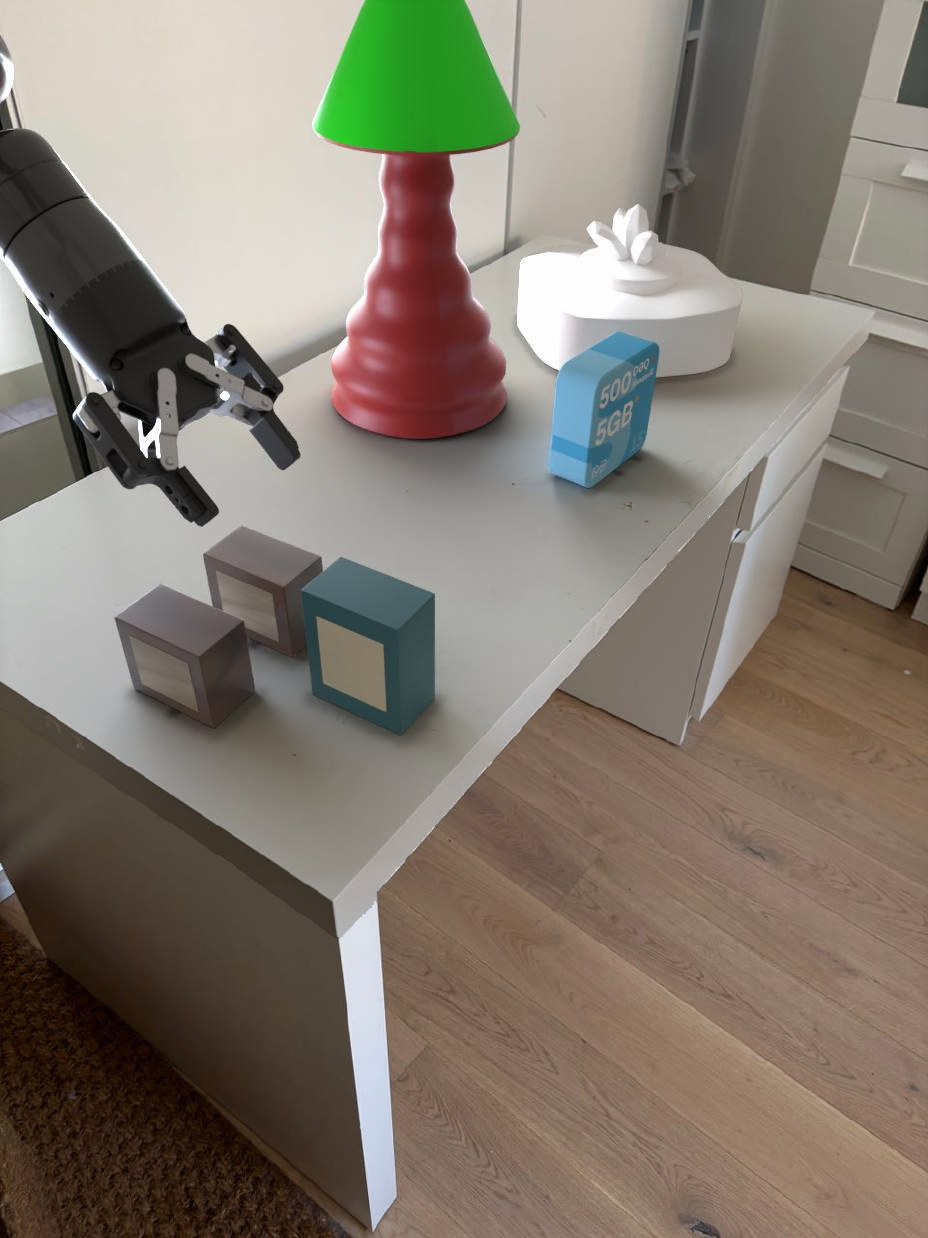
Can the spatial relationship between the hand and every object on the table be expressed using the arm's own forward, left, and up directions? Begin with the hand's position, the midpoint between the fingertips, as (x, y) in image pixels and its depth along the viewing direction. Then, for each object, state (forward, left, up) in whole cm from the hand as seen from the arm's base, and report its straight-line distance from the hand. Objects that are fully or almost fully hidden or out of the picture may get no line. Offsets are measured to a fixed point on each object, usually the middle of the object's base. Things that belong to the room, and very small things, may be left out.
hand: (253, 490), depth 67 cm
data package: (+28, +30, -15) cm, 44 cm away
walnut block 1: (-5, -5, -15) cm, 16 cm away
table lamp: (+9, +43, -15) cm, 47 cm away
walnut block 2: (-1, +3, -15) cm, 15 cm away
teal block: (+8, -5, -15) cm, 18 cm away
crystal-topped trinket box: (+34, +62, -15) cm, 73 cm away
